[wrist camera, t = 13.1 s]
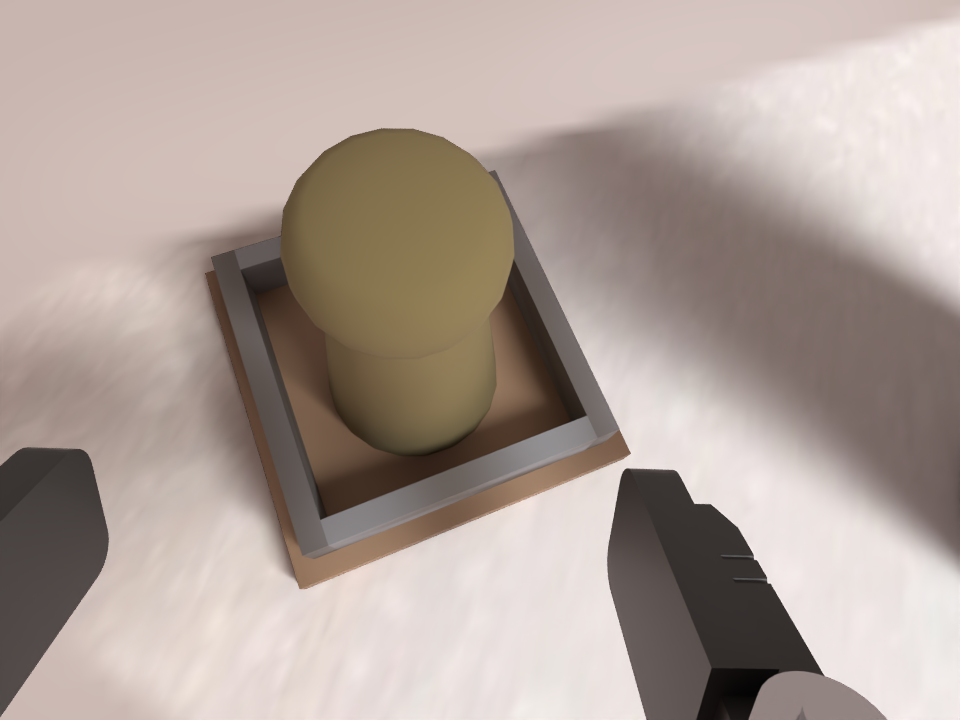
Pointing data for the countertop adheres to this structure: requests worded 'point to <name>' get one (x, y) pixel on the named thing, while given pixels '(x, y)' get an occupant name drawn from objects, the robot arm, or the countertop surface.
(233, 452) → the countertop surface
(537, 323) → the plate
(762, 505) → the countertop surface
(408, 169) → the cork
